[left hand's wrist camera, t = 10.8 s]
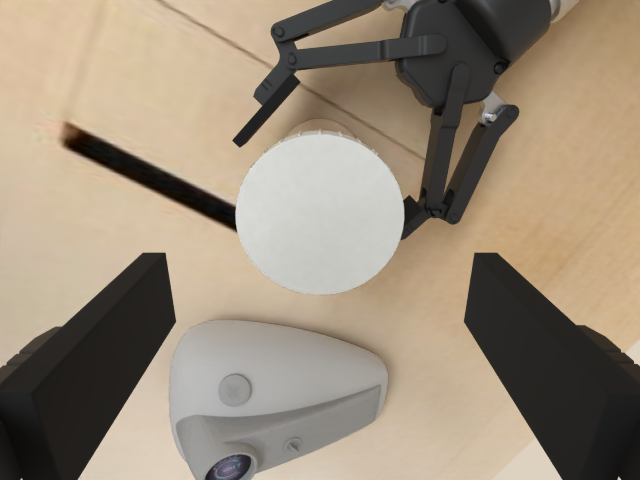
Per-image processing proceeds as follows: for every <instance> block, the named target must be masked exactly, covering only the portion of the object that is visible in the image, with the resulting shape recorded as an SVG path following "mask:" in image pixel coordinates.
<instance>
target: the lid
mask: <svg viewBox="0 0 640 480" xmlns="http://www.w3.org/2000/svg"><path fill="white" fill-rule="evenodd" d="M262 154H263V155H262V156H261V157H260V158H259V159H258V160H257V162H256V163H254V164H253V165H252V166H251V167H250V168H249V169H250V171H249V172H248V174H247V175H246V177H245V179H244V181H243V183H242V184H241V186H240V187H241V188H240V191H239V194H238V198H237V203H236V226H237V231H238V235H239V238H240V241H241V244H242V246H243V248H244V250H245V253H246V254H247V256H248V257H249V259H250V260H251V262H252V263H253V264H254V265H255V266H256V268H257V269H258V270H259V271H260V272H261V273H263V274H264V275H265V276H266V277H267V278H269V279H270V280H272V281H273V282H275V283H276V284H278V285H280V286H282V287H284V288H287V289H289V290H292V291H295V292H299V293H303V294H309V295H331V294H337V293H342V292H345V291H348V290H351V289H354V288H356V287H358V286H360V285H362V284H364V283H365V282H367V281H369V280H370V279H371V278H373V277H374V276H375V275H376V274H378V273H379V272H380V271H381V270H382V269H383V268H384V267H385V265H386V264H387V263H388V261H389V260H390V259H391V257H392V256H393V254H394V252H395V250H396V249H397V246H398V244H399V241H400V239H401V235H402V231H403V225H404V203H403V198H402V194H401V191H400V188H399V187H400V185H399V184H398V183H397V181H396V179H395V177H394V175H393V174H392V172H391V171H390V170H391V168H390V167H389V166H388V165H387V164H386V163H384V162H383V161H382V160H381V158H380V157H379V156H378V153H377V152H376V151H375V150H374V149H370V148H369V147H368V146H367V145H365V144H364V143H362V142H361V141H360V140H359V139H358V138H357V139H355V138H353V137H351V136H348V135H345V134H342V133H341V131H339V132H333V131H321V129H319V130H316V131H306V132H302V131H300V132H299V133H298V134H295V135H292V136H290V137H287V138H285V139H284V138H282V139H281V140H280V141H279V142H278V143H276V144H275V145H273V146H272V147H271V148H269V149H266V150H265V151H264V152H263V153H262Z"/></svg>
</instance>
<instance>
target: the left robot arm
mask: <svg viewBox="0 0 640 480" xmlns="http://www.w3.org/2000/svg"><path fill="white" fill-rule="evenodd" d="M175 323H176V318H175V312H174V305H173V299H172V292H171V286H170V279H169V273H168V266H167V260H166V253H142V254H141V255H140V256H139V257H138V258H137V259H136V260H135V261H134V262H132V263H131V264H130V265H129V266H128V267H127V268H126V269H125V270H124V271H123V272H122V273H120V274H119V275H118V276H117V277H116V278H115V279H114V280H113V281H112V282H111V283H109V284H108V285H107V286H106V287H105V288H104V289H103V290H102V291H101V292H100V293H99V294H97V295H96V296H95V297H94V298H93V299H92V300H91V301H90V302H89V303H88V304H87V305H85V306H84V307H83V308H82V309H81V310H80V311H79V312H78V313H77V314H76V315H75V316H73V317H72V318H71V319H70V320H69V321H68V322H67V323H66V324H65V325H64V326H62V327H54V328H52V329H51V330H49V331H47V332H45V333H43V334H41V335H40V336H38V337H36V338H34V339H33V340H32V341H31V342H30V343H29V344H27V345H26V346H25V347H24V348H23V349H22V350H21V351H20V353H19V354H16V355H15V356H14V357H12V358H11V359H10V360H9V361H8V362H7V364H6V366H2V367H1V368H0V480H20V479H21V478H22V479H23V480H78V478H79V477H80V475H81V473H82V472H83V470H84V469H85V467H86V465H87V464H88V462H89V460H90V459H91V457H92V456H93V454H94V452H95V451H96V449H97V448H98V446H99V444H100V443H101V441H102V440H103V438H104V436H105V435H106V433H107V432H108V430H109V428H110V427H111V425H112V424H113V422H114V420H115V419H116V417H117V416H118V414H119V412H120V411H121V409H122V408H123V406H124V404H125V403H126V401H127V400H128V398H129V396H130V395H131V393H132V392H133V390H134V388H135V387H136V385H137V384H138V382H139V380H140V379H141V377H142V376H143V374H144V372H145V371H146V369H147V367H148V366H149V364H150V363H151V361H152V359H153V358H154V356H155V355H156V353H157V351H158V350H159V348H160V347H161V345H162V343H163V342H164V340H165V339H166V337H167V335H168V334H169V332H170V331H171V329H172V327H173V326H174V324H175ZM464 323H465V324H466V326H467V327H468V329H469V331H470V332H471V334H472V335H473V337H474V339H475V340H476V342H477V343H478V345H479V347H480V348H481V350H482V351H483V353H484V355H485V356H486V358H487V359H488V361H489V363H490V364H491V366H492V367H493V369H494V371H495V372H496V374H497V376H498V377H499V379H500V380H501V382H502V384H503V385H504V387H505V388H506V390H507V392H508V393H509V395H510V396H511V398H512V400H513V401H514V403H515V404H516V406H517V408H518V409H519V411H520V412H521V414H522V416H523V417H524V419H525V420H526V422H527V424H528V425H529V427H530V428H531V430H532V432H533V433H534V435H535V436H536V438H537V440H538V441H539V443H540V444H541V446H542V448H543V449H544V451H545V452H546V454H547V456H548V457H549V459H550V460H551V462H552V464H553V465H554V467H555V468H556V470H557V472H558V473H559V475H560V477H561V478H562V480H617V479H618V476H619V477H620V478H621V480H640V366H639V365H638V364H634V361H633V360H632V359H631V358H630V357H629V356H627V355H626V354H625V353H621V350H620V349H619V348H618V347H617V346H616V345H615V344H613V343H612V342H611V341H610V340H609V339H608V338H606V337H605V336H603V335H602V334H600V333H598V332H596V331H594V330H592V329H590V328H589V327H587V326H585V325H575V324H574V323H573V322H572V321H571V320H570V319H569V318H568V317H567V316H565V315H564V314H563V313H562V312H561V311H560V310H559V309H558V308H557V307H556V306H555V305H553V304H552V303H551V302H550V301H549V300H548V299H547V298H546V297H545V296H544V295H543V294H541V293H540V292H539V291H538V290H537V289H536V288H535V287H534V286H533V285H532V284H531V283H529V282H528V281H527V280H526V279H525V278H524V277H523V276H522V275H521V274H520V273H518V272H517V271H516V270H515V269H514V268H513V267H512V266H511V265H510V264H509V263H508V262H506V261H505V260H504V259H503V258H502V257H501V256H500V255H499V254H498V253H474V260H473V266H472V273H471V279H470V286H469V292H468V299H467V305H466V312H465V318H464Z"/></svg>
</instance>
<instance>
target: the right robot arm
mask: <svg viewBox="0 0 640 480" xmlns="http://www.w3.org/2000/svg"><path fill="white" fill-rule="evenodd" d="M579 1H580V0H332V1H330V2H327V3H325V4H322V5H320V6H317V7H315V8H312V9H310V10H307V11H305V12H302V13H300V14H297V15H295V16H292V17H290V18H287V19H285V20H282V21H280V22H277V23H275V24H274V25H273V26H272V28H271V36H272V38H273V39H274V42H275V44H276V46H277V48H278V50H279V53H280V60H279V62H278V64H277V65H276V66H275V68H274V69H273V70H272V71H271V72H270V73H269V75H268V76H267V77H266V78H265V79H264V80H263V82H262V83H261V84H260V85H259V86H258V87H257V89H256V90H255V93H254V96H253V97H254V98H255V99H256V100H257V101H258V102H259V103H260V104H261V105H262V107H261V108H260V109H259V110H258V112H257V113H256V114H255V115H254V116H253V117H252V118H251V120H250V121H249V122H248V123H247V124H246V125H245V126H244V128H243V129H242V130H241V131H240V132H239V133H238V134H237V136H236V137H235V138H234V139H233V140H232V141H233V142H234V143H235V144H236V145H237V146H239V147H241V146H243V145H244V144H246V143H247V142H248V141H249V139H250V138H251V137H252V136H253V135H254V134H255V133H256V132H257V130H258V129H259V128H260V127H261V126H262V125H263V124H264V123H265V121H266V120H267V119H268V118H269V117H270V116H271V115H272V114H273V113H274V111H275V110H276V109H277V108H278V107H279V106H280V105H281V104H282V102H283V101H284V100H285V99H286V98H287V97H288V96H289V95H290V93H291V92H292V91H293V90H294V89H295V88H296V87H297V86H298V84H299V83H300V81H299V80H298V79H297V78H296V77H295V76H294V74H295V72H296V71H297V70H307V69H317V68H326V67H336V66H346V65H356V64H366V63H378V62H389V61H395V69H396V72H397V75H396V76H397V77H398V78H399V79H400V80H401V82H402V83H404V84H405V85H407V86H409V87H410V88H411V89H412V91H413V93H414V95H415V97H416V99H417V100H418V101H419V102H420V103H421V104H422V105H424V106H427V107H429V108H432V114H431V130H430V136H429V142H428V148H427V154H426V160H425V166H424V172H423V178H422V184H421V190H420V196H419V201H418V202H417V203H416V201H415V200H414V199H413V198H412V197H411V196H410V195H409V196H408V197H407V198H406V199H404V200H403V203H404V225H403V231H402V235H401V239H400V240H403V239H405V238H407V237H408V236H409V235H410V234H411V233H412V232H413V231H414V230H416V229H417V228H418V227H419V226H420V225H421V224H423V223H424V222H425V221H426V220H427V219H429V218H431V217H432V218H440V219H442V220H445V221H447V222H448V223H449V224H457V223H458V222H459V221H460V219H461V217H462V215H463V213H464V211H465V209H466V207H467V205H468V203H469V201H470V198H471V196H472V194H473V192H474V190H475V188H476V186H477V184H478V182H479V180H480V177H481V175H482V173H483V171H484V169H485V167H486V165H487V163H488V161H489V158H490V156H491V154H492V152H493V150H494V148H495V146H496V144H497V142H498V140H499V137H500V136H501V135H502V134H503V133H504V132H505V131H506V130H507V129H508V127H509V126H510V125H511V124H512V123H513V122H514V121H515V120H516V119H517V117H518V116H519V109H518V107H517V106H515V105H508V104H506V103H505V102H504V101H503V100H502V99H501V98H500V97H499V96H498V95H497V94H496V93H495V92H494V91H493V87H494V85H495V83H496V81H497V79H498V78H499V77H500V75H501V74H502V73H504V72H505V71H506V70H507V69H508V68H509V67H510V66H511V65H512V64H513V63H514V62H515V61H517V60H518V59H519V58H520V57H521V56H522V55H523V54H524V53H525V52H526V51H527V50H528V49H529V48H530V47H531V46H532V45H533V44H534V43H536V42H537V41H538V40H539V39H540V38H541V37H542V36H543V35H544V34H545V33H546V32H547V30H548V29H549V26H550V24H551V23H554V22H557V21H558V20H560V19H561V18H562V17H563V16H564V15H565V14H566V13H567V12H568V11H570V10H571V9H572V8H573V7H574V6H575V5H576V4H577V3H578V2H579ZM380 6H382V7H383V9H384V10H386V11H392V10H394V9H396V8H400V9H402V10H404V11H405V15H404V18H403V23H402V28H401V33H400V38H398V39H389V40H382V41H376V42H367V43H357V44H347V45H338V46H328V47H318V48H309V49H299V50H297V48H296V46H295V43H294V42H295V41H298V40H300V39H303V38H305V37H308V36H310V35H313V34H316V33H318V32H321V31H323V30H326V29H328V28H331V27H334V26H336V25H339V24H341V23H344V22H346V21H349V20H352V19H354V18H357V17H359V16H362V15H364V14H367V13H369V12H371V11H373V10H375V9H377V8H378V7H380ZM476 102H479V103H480V110H479V112H478V114H477V121H478V124H477V125H476V126H475V128H474V130H473V132H472V134H471V136H470V138H469V140H468V142H467V144H466V147H465V149H464V151H463V153H462V156H461V158H460V160H459V162H458V164H457V167H456V169H455V171H454V173H453V176H452V178H451V180H450V182H449V185H448V187H447V189H446V191H445V193H444V189H445V184H446V178H447V173H448V168H449V163H450V157H451V152H452V147H453V142H454V137H455V131H456V129H457V127H458V126H459V123H460V118H461V112H462V107H463V105H464V104H470V103H476ZM443 194H444V196H443Z"/></svg>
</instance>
